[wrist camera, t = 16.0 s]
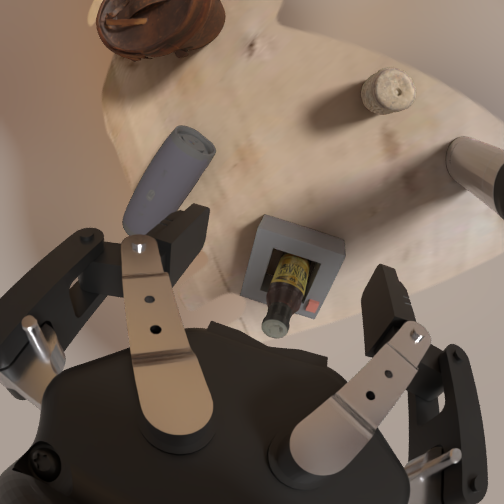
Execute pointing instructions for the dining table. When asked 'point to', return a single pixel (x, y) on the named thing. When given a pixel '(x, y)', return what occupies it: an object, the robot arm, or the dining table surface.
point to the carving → (388, 91)
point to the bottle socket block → (300, 244)
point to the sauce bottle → (285, 294)
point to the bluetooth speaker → (168, 179)
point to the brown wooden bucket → (158, 26)
